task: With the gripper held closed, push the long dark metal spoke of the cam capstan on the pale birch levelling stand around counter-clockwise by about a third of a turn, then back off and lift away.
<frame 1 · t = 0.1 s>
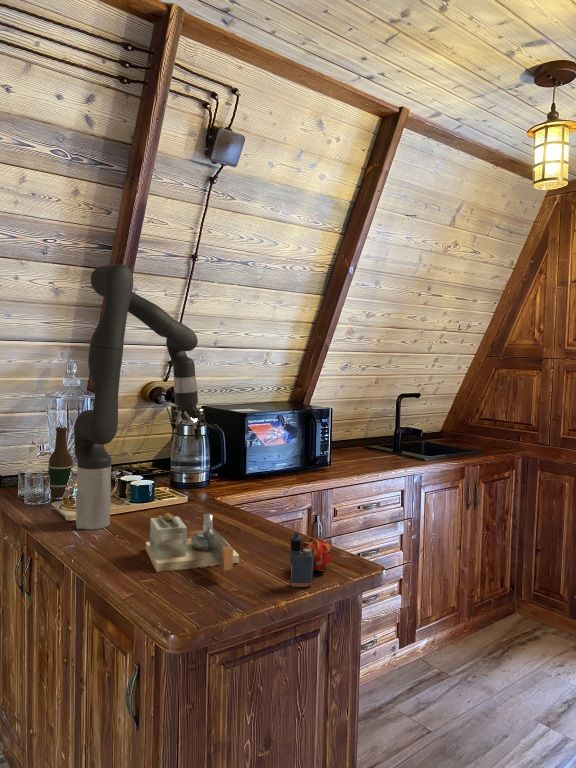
hand: (189, 437, 198), 22 cm above the countertop, tool pointing down, fingers open, 8 cm apart
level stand: (191, 556, 148), on the countertop
dragon fruit: (313, 570, 143), on the countertop
cam capstan: (215, 539, 143), point 6 cm above the countertop, hinge at 0.0°
beer bottle: (60, 498, 200), on the countertop
vaping device: (300, 586, 133), on the countertop
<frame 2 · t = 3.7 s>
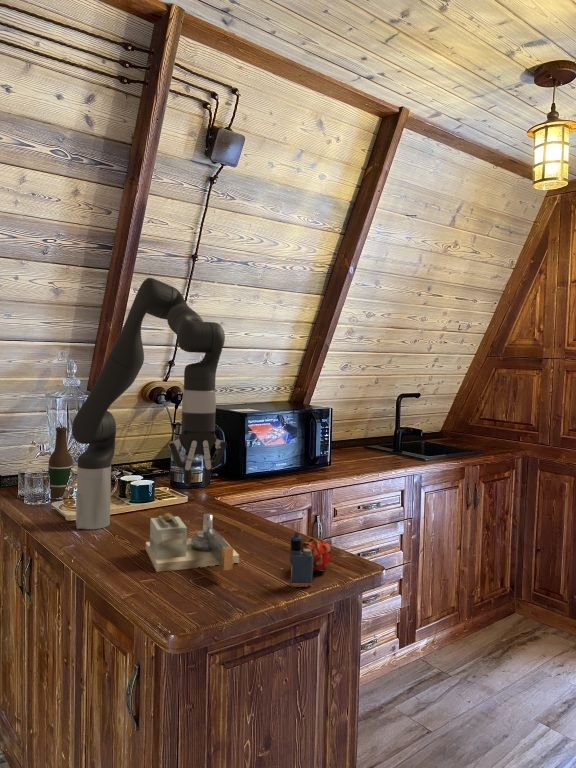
hand: (196, 484, 134), 21 cm above the countertop, tool pointing down, fingers open, 3 cm apart
nothing on the countertop moved.
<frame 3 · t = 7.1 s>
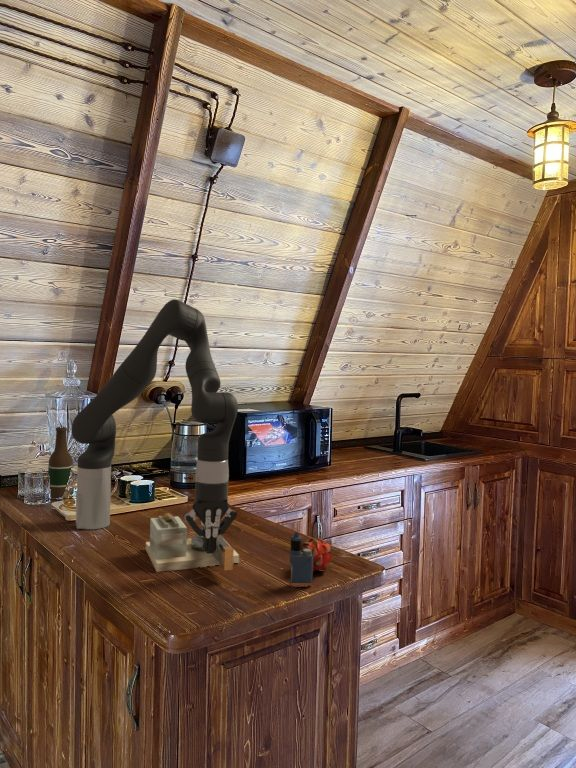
hand: (209, 552, 137), 5 cm above the countertop, tool pointing down, fingers closed
cam capstan: (215, 539, 143), point 6 cm above the countertop, hinge at 0.3°, touching gripper
everything else where it was.
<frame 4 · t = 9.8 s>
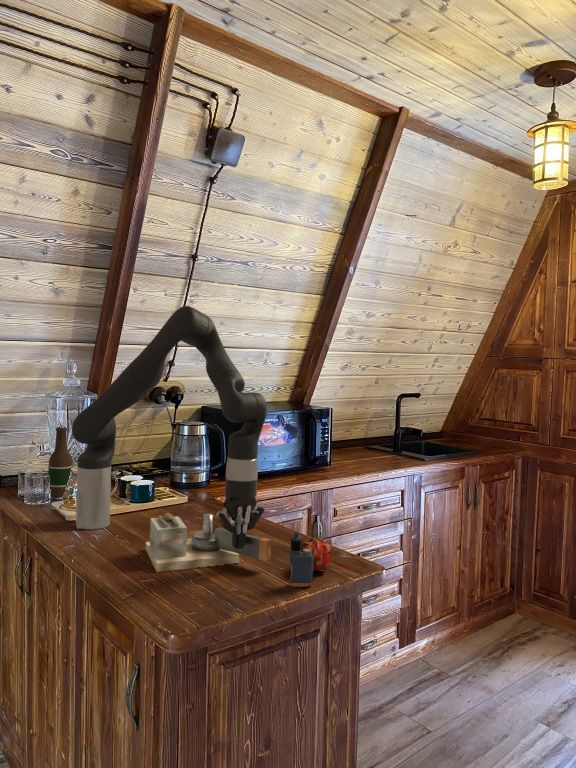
hand: (238, 548, 141), 5 cm above the countertop, tool pointing down, fingers closed
cam capstan: (230, 536, 146), point 6 cm above the countertop, hinge at 36.1°, touching gripper
everything else where it was.
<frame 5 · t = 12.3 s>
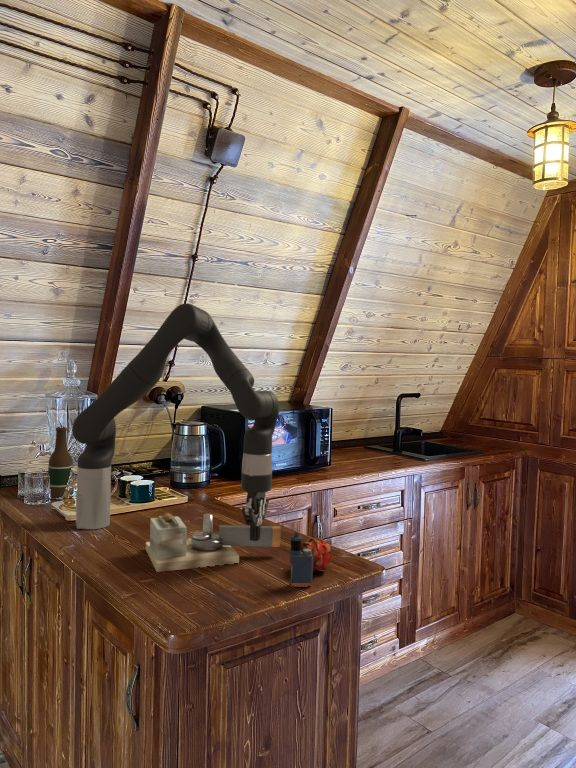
hand: (254, 540, 147), 5 cm above the countertop, tool pointing down, fingers closed
cam capstan: (236, 531, 150), point 6 cm above the countertop, hinge at 71.0°, touching gripper
everything else where it was.
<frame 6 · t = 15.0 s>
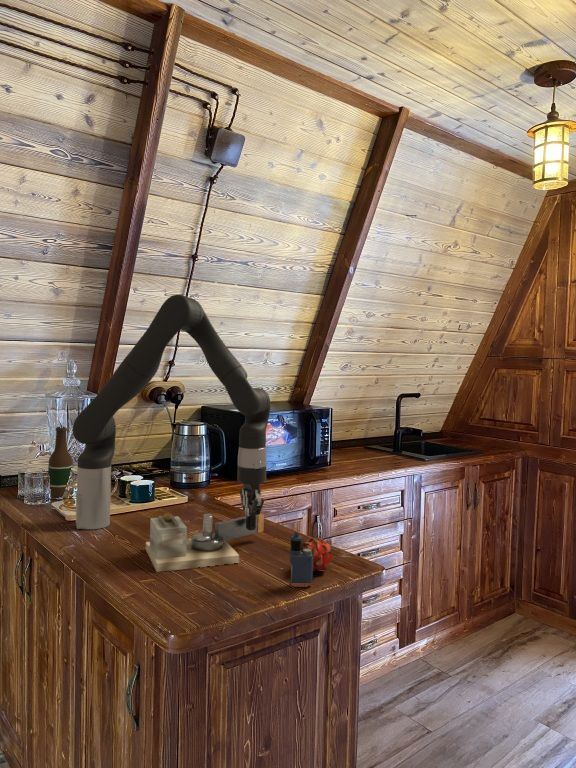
hand: (250, 529, 156), 5 cm above the countertop, tool pointing down, fingers closed
cam capstan: (229, 525, 155), point 6 cm above the countertop, hinge at 112.6°, touching gripper
everything else where it was.
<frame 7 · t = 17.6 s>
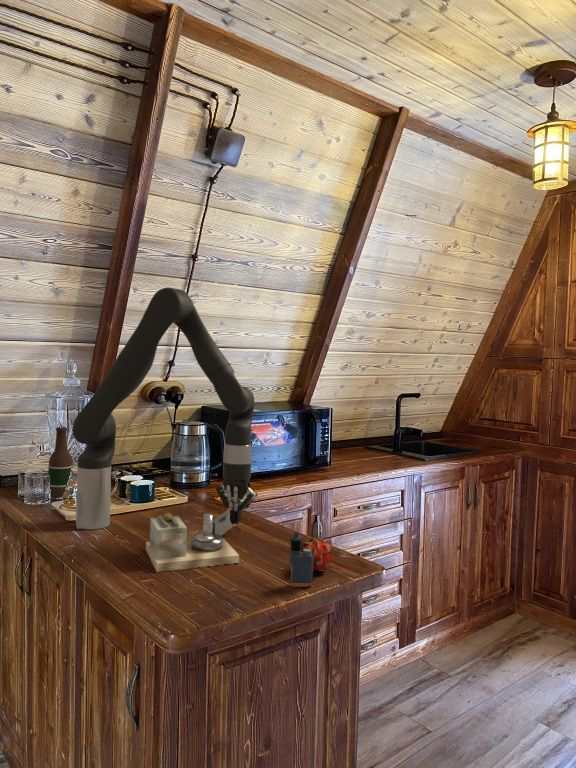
hand: (235, 523, 161), 5 cm above the countertop, tool pointing down, fingers closed
cam capstan: (218, 522, 157), point 6 cm above the countertop, hinge at 142.3°
everything else where it was.
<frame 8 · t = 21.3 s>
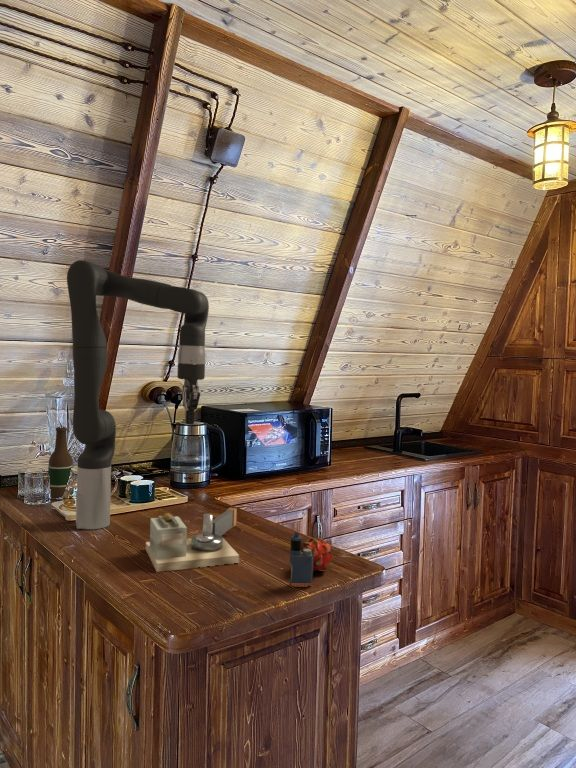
hand: (189, 424, 165), 31 cm above the countertop, tool pointing down, fingers closed
nothing on the countertop moved.
at the end: cam capstan at +142° (first picture: +0°) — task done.
